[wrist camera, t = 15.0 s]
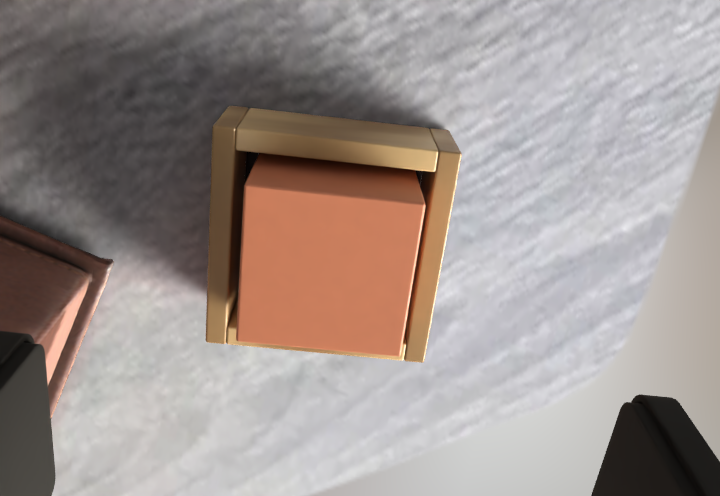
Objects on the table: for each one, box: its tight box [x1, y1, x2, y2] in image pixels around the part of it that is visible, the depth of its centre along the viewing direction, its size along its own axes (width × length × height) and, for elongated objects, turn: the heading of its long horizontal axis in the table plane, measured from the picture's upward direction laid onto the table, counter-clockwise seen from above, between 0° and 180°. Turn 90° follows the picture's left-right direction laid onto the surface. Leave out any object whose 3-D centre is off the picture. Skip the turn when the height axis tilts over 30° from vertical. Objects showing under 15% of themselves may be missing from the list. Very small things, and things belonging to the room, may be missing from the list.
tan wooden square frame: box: [206, 106, 462, 362], centre depth 20 cm, size 6×6×2 cm
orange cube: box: [236, 153, 426, 356], centre depth 19 cm, size 4×4×4 cm
